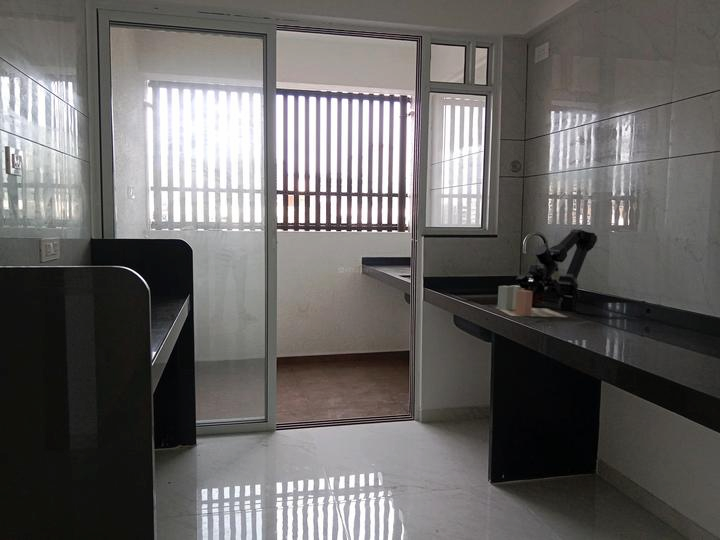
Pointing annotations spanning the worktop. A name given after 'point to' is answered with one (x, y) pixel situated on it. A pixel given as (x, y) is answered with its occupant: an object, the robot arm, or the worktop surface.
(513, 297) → the cream block
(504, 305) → the sage block
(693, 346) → the worktop surface
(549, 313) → the maple board
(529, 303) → the terracotta block
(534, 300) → the mug
